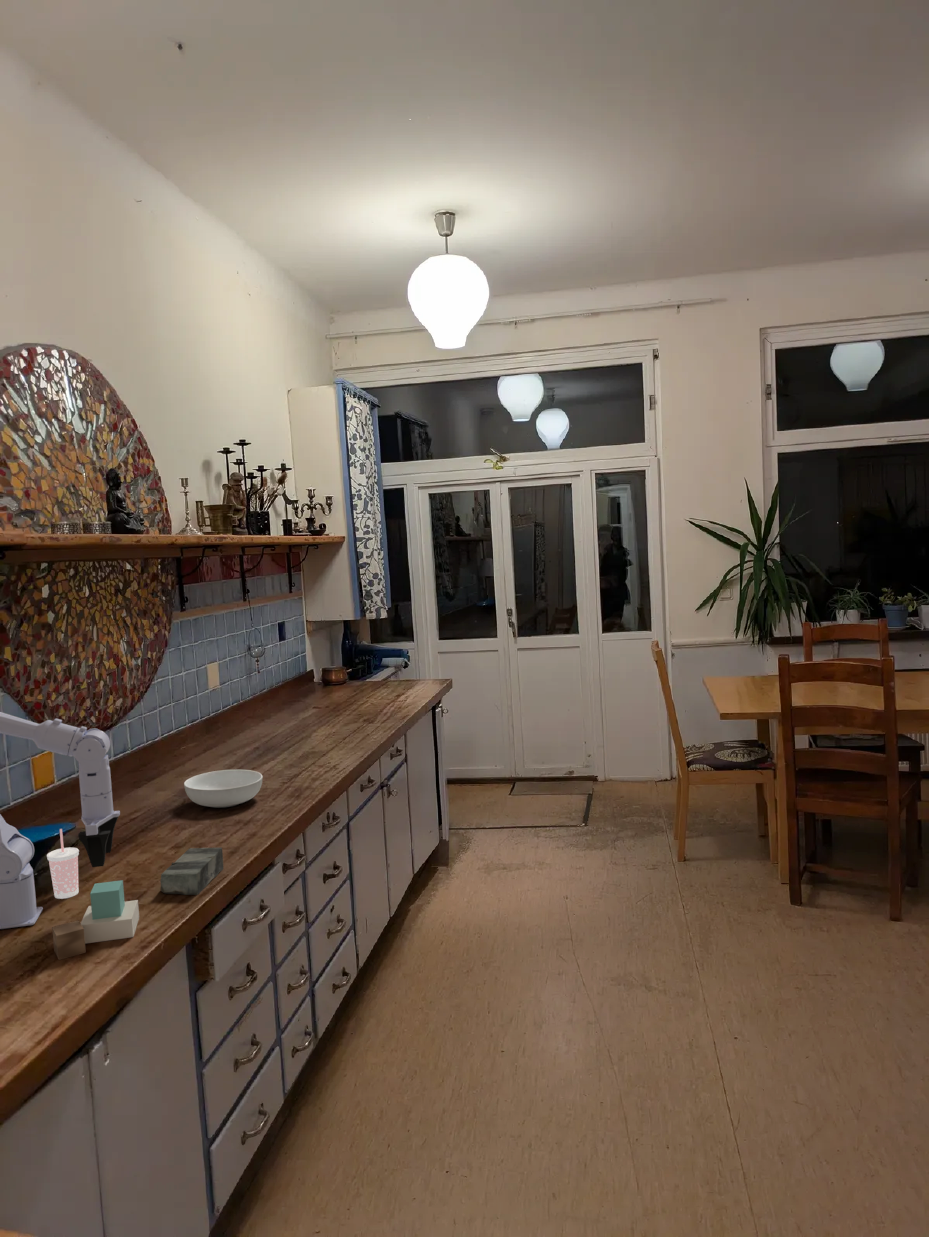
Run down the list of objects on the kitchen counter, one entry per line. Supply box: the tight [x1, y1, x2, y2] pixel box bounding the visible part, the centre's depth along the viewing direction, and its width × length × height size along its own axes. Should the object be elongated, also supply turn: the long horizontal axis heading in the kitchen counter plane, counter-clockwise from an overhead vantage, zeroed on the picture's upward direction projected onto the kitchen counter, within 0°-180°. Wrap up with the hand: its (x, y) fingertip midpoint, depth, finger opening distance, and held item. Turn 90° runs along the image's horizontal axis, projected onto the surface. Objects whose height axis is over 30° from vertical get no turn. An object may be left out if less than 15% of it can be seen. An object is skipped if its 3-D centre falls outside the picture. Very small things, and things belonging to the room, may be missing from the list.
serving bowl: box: [183, 768, 264, 809], centre depth 250 cm, size 21×21×7 cm
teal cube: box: [89, 879, 125, 920], centre depth 171 cm, size 5×5×5 cm
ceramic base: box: [80, 899, 140, 944], centre depth 171 cm, size 9×9×4 cm
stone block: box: [159, 847, 224, 896], centre depth 194 cm, size 9×14×5 cm, turn 173°
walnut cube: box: [51, 920, 87, 961], centre depth 163 cm, size 4×4×4 cm
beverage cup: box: [46, 828, 80, 900], centre depth 189 cm, size 6×6×14 cm
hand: (101, 859), depth 180 cm, fingers open, 7 cm apart
